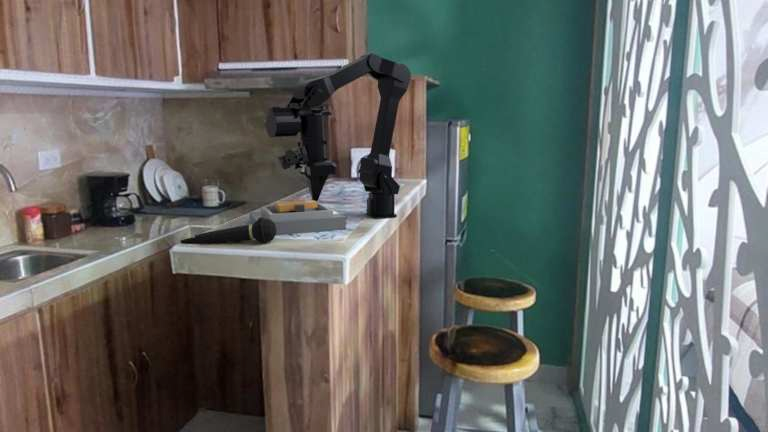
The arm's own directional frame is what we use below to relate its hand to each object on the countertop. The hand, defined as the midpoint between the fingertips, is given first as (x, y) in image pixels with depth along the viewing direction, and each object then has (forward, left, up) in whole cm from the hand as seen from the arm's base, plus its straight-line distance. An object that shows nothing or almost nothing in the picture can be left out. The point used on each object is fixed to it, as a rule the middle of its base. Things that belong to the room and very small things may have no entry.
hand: (315, 201), depth 125 cm
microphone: (+21, +9, -6) cm, 24 cm away
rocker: (+5, 0, -1) cm, 5 cm away
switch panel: (+5, 0, -6) cm, 8 cm away
